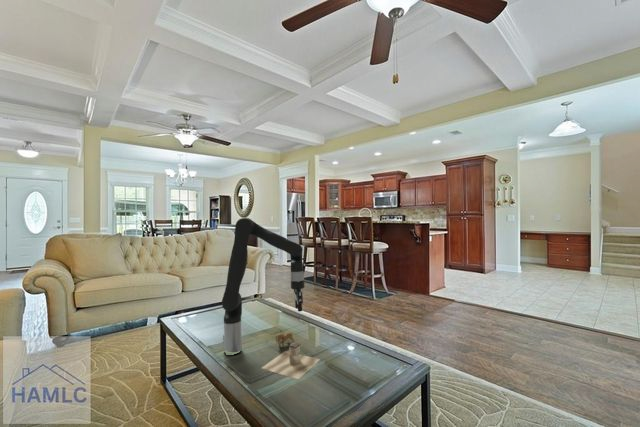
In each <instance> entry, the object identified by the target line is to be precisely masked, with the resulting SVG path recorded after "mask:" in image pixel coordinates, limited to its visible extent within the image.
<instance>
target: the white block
mask: <svg viewBox="0 0 640 427" xmlns="http://www.w3.org/2000/svg"><path fill="white" fill-rule="evenodd" d="M292 342H293V341H292ZM292 342H291V343H290V344H289V345H288V352H289V358H290V364H294V365H297V364H298V363H299V362H301V356H300V355H301V343H299V342H295V341H294V342H293V343H292Z"/></svg>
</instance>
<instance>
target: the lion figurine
mask: <svg viewBox="0 0 640 427" xmlns="http://www.w3.org/2000/svg"><path fill="white" fill-rule="evenodd" d="M289 340H290V341H291V344H292V343H293V342H295V339H294V336H293V334H292V333H291V332H290V331H289V332H286V333H285V334H282V333H277V334H276V335H275V342H276V344H278V348H280V347H282V349H283V348H284V349H285V344H288V343H289ZM281 345H282V346H281Z"/></svg>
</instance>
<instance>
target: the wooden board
mask: <svg viewBox="0 0 640 427" xmlns="http://www.w3.org/2000/svg"><path fill="white" fill-rule="evenodd" d="M300 356H301V362H299V363H298V364H297V365H294V364H290V358H289V350H284V351H283V352H281V353H280V354H279V355H277V356H276V357H275V358H273V359H272V360H271V361H269V362H268V363H266V364H265V365H263V366H262V367H261V369H263V370H265V371H269V372H272V373H276V374H279V375H282V376H286V377H289V378H292V379H295V380H300V379H301V378H302V377H303V376H304V375H306V374H307V373H308V371H310V370H311V369H312V368H313V367H314V366H315V365H316V364H318V363H319V362H320V361H321V359H319V358H315V357H313V356H309V355H308V356H307V355H304V354H300Z"/></svg>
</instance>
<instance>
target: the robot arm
mask: <svg viewBox="0 0 640 427" xmlns="http://www.w3.org/2000/svg"><path fill="white" fill-rule="evenodd" d="M234 228H235V229H234V239H233V245H232V249H231V253H230V259H229V262H228V263H229V264H228V268H227V269H228V271H227V276H226V285H225V289H224V293H223V296H222V300H221V305H222V308H223V310H224V316H223V329H224V330H223V335H222V340H223V341H222V344H223V348H224V349H225V350H226V351H228V352H238V351H241V350H242V351H243V340H242V339H243V337H242V336H243V335H242V314H243V298H242V295H241V293H240V287H241V284H242V281H243V279H244V275H245V272H246V268H247V264H248V254H249V253H248V244H249V238H250V235H251V236H253V237H257V238H259V239H261V240H263V241H264V242H265V243H267V244H268V245H270V246H272V247H273V248H276V249H279V250H280V251H283V252H285V253H287V254H289V255H290V288H291V289H292V290H293V299H294V302H295V305H294V306H295V309H297V311H298V312H302V311H303V304H304V301H303V298H304V297H303V292H302V289H305V273H304V263H303V250H304V249H303V246H301V245H300V244H298V243H297V242H295V241H292V240H289V239H287V238H286V237H284V236H282V235H279V234H277V233H276V232H273V231H271V230H269V229H267V228H264V227H262V226H261V225H259V224H258V223H256V222H255V221H254V220H252V218H249V217H241V218H239V219H238V220H237V221H236V223H235V225H234Z"/></svg>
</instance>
